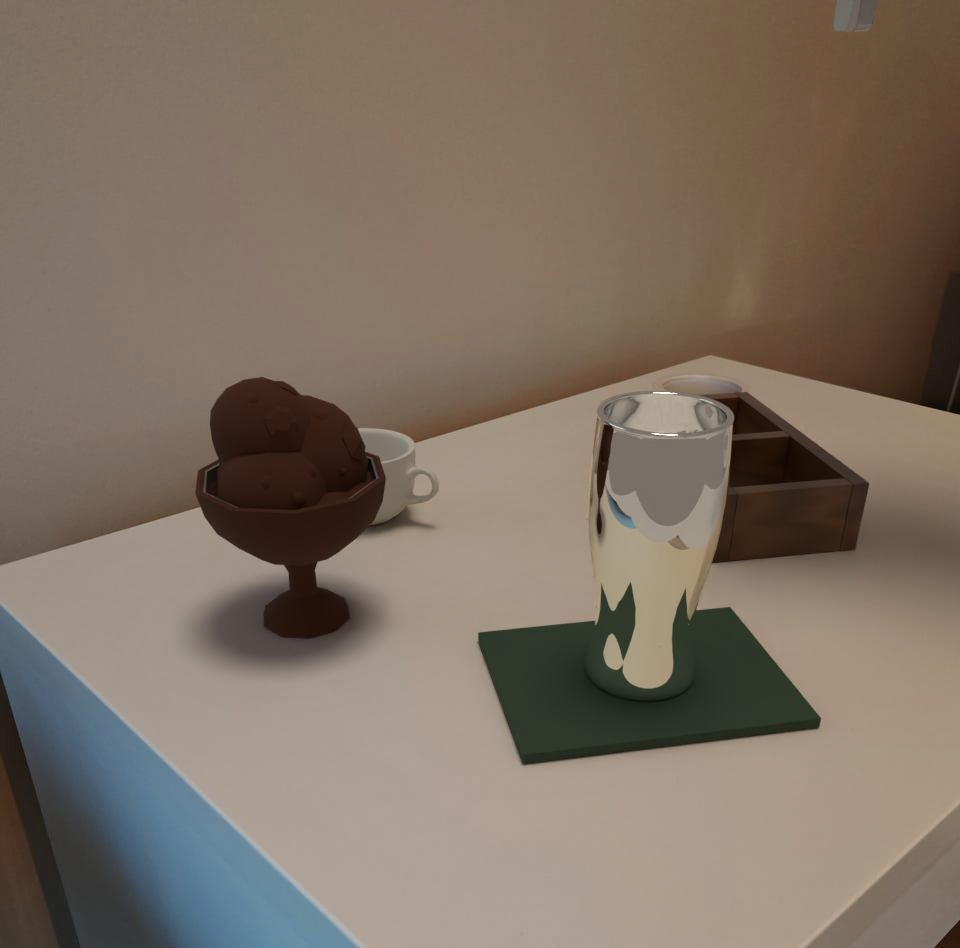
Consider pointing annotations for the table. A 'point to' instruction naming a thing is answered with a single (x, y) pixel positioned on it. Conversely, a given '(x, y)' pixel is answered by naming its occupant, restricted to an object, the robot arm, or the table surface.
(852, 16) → the robot arm
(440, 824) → the table surface
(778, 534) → the divided wooden box
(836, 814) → the table surface
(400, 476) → the teacup
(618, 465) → the beer glass
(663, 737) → the mat
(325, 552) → the ice cream bowl
